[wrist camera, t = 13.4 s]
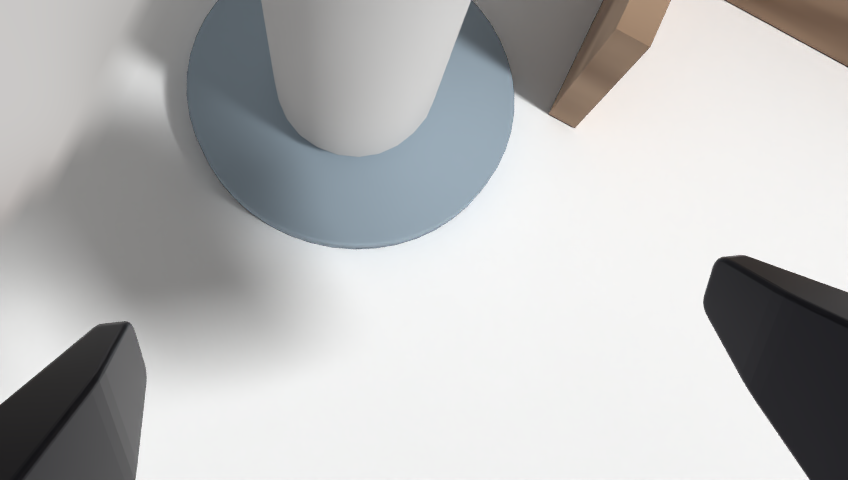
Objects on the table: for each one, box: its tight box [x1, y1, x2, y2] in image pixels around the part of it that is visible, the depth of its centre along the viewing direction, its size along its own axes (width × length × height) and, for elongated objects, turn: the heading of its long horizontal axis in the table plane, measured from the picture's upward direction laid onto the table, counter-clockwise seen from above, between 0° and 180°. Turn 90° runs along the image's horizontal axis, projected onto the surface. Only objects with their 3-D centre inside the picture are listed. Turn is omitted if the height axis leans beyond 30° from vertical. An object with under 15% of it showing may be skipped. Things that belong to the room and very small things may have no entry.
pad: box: [187, 0, 514, 249], centre depth 19 cm, size 10×10×1 cm
